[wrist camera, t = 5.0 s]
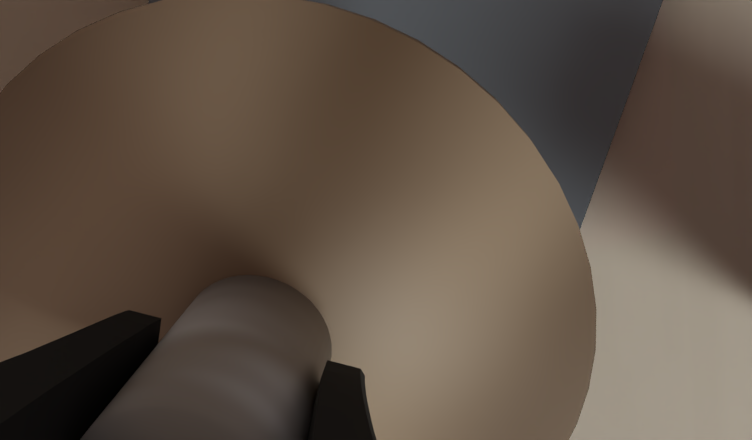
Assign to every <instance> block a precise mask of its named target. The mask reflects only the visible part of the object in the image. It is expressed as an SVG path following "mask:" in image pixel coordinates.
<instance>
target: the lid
mask: <svg viewBox="0 0 752 440" xmlns="http://www.w3.org/2000/svg"><path fill="white" fill-rule="evenodd" d="M127 310H131V311H135V312H139V313H143V314H147V315H151V316H155V317H159V318H161V326H160V333H159V341H158V345H157V346H156V347H155V348H154V349H153V351H152V352H151V353H150V354H149V356H148V357H147V358H146V359H145V360H144V362H143V363H142V364H141V365H140V367H139V368H138V369H137V370H136V371H135V373H134V374H133V375H132V376H131V378H130V379H129V380H128V381H127V382H126V384H125V385H124V386H123V387H122V389H121V390H120V391H119V392H118V393H117V395H116V396H115V397H114V398H113V400H112V401H111V402H110V403H109V404H108V406H107V407H106V408H105V409H104V411H103V412H102V413H101V414H100V415H99V417H98V418H97V419H96V420H95V422H94V423H93V424H92V425H91V426H90V428H89V429H88V430H87V431H86V433H85V434H84V435H83V436H82V438H81V439H80V440H307V435H308V430H309V425H310V421H311V417H312V413H313V408H314V404H315V400H316V396H317V392H318V387H319V383H320V379H321V376H322V373H323V370H324V368H325V365H326V362H327V360H329V361H333V362H337V363H341V364H345V365H349V366H353V367H356V368H360V369H361V370H362V372H363V373H364V375H365V388H366V396H367V402H368V407H369V412H370V416H371V421H372V425H373V429H374V432H375V436H376V439H377V440H569V438H570V436H571V434H572V432H573V430H574V428H575V427H576V425H577V422H578V419H579V416H580V413H581V410H582V407H583V404H584V401H585V398H586V395H587V392H588V389H589V384H590V378H591V373H592V367H593V361H594V356H595V348H596V304H595V296H594V289H593V281H592V274H591V267H590V264H589V260H588V257H587V253H586V250H585V247H584V243H583V240H582V236H581V233H580V229H579V226H578V223H577V221H576V219H575V217H574V215H573V213H572V210H571V208H570V206H569V204H568V202H567V200H566V197H565V195H564V193H563V191H562V189H561V187H560V184H559V182H558V181H557V179H556V178H555V176H554V175H553V173H552V172H551V170H550V169H549V167H548V166H547V164H546V162H545V161H544V159H543V158H542V156H541V155H540V153H539V152H538V150H537V149H536V147H535V145H534V144H533V142H532V141H531V140H530V138H529V137H528V135H527V134H526V133H525V132H524V130H523V129H522V128H521V127H520V126H519V125H518V124H517V122H516V121H515V120H514V119H513V118H512V117H511V116H510V114H509V113H508V112H507V111H506V110H505V109H504V107H503V106H502V105H501V104H500V103H499V102H498V101H497V99H496V98H495V97H493V96H492V95H491V94H490V93H489V92H488V91H487V90H485V89H484V88H483V87H482V86H481V85H480V84H479V83H477V82H476V81H475V80H474V79H473V78H472V77H470V76H469V75H468V74H467V73H466V72H465V71H464V70H462V69H461V68H460V67H459V66H457V65H456V64H454V63H453V62H451V61H450V60H448V59H447V58H445V57H444V56H442V55H441V54H439V53H438V52H436V51H434V50H433V49H431V48H430V47H428V46H427V45H425V44H424V43H422V42H421V41H419V40H417V39H415V38H413V37H411V36H409V35H407V34H405V33H403V32H401V31H398V30H396V29H394V28H392V27H390V26H388V25H386V24H384V23H382V22H380V21H377V20H375V19H373V18H370V17H366V16H363V15H360V14H357V13H354V12H351V11H348V10H344V9H341V8H338V7H335V6H332V5H329V4H324V3H318V2H312V1H307V0H161V1H158V2H154V3H150V4H147V5H143V6H139V7H136V8H132V9H128V10H124V11H121V12H118V13H116V14H113V15H111V16H109V17H107V18H104V19H102V20H100V21H98V22H95V23H93V24H91V25H89V26H86V27H84V28H82V29H80V30H77V31H76V32H74V33H73V34H71V35H70V36H68V37H66V38H65V39H63V40H62V41H60V42H59V43H57V44H56V45H54V46H53V47H51V48H50V49H48V50H46V51H45V52H43V53H42V54H40V55H39V56H38V57H37V58H36V59H35V60H33V61H32V62H31V63H30V64H29V65H28V66H27V67H26V68H25V69H24V70H22V71H21V72H20V73H19V74H18V75H17V76H16V77H15V78H14V79H13V80H11V81H10V82H9V83H8V84H7V85H6V87H5V88H4V89H3V90H2V92H1V93H0V362H2V361H4V360H7V359H10V358H13V357H15V356H18V355H21V354H23V353H26V352H28V351H31V350H33V349H35V348H38V347H40V346H42V345H45V344H47V343H50V342H52V341H54V340H57V339H59V338H62V337H64V336H66V335H69V334H71V333H73V332H76V331H78V330H80V329H83V328H85V327H87V326H90V325H92V324H94V323H97V322H99V321H101V320H104V319H106V318H108V317H111V316H113V315H116V314H118V313H121V312H124V311H127Z"/></svg>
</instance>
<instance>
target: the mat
mask: <svg viewBox="0 0 752 440" xmlns="http://www.w3.org/2000/svg"><path fill="white" fill-rule="evenodd" d="M158 1H161V0H149V3H148V4H150V3H154V2H158ZM307 1H312V2H318V3H324V4H329V5H332V6H335V7H338V8H341V9H344V10H348V11H351V12H354V13H357V14H360V15H363V16H366V17H370V18H373V19H375V20H377V21H380V22H382V23H384V24H386V25H388V26H390V27H392V28H394V29H396V30H398V31H401V32H403V33H405V34H407V35H409V36H411V37H413V38H415V39H417V40H419V41H421V42H422V43H424V44H425V45H427V46H428V47H430V48H431V49H433V50H434V51H436V52H438V53H439V54H441V55H442V56H444V57H445V58H447V59H448V60H450V61H451V62H453V63H454V64H456V65H457V66H459V67H460V68H461V69H462V70H464V71H465V72H466V73H467V74H468V75H469V76H470V77H472V78H473V79H474V80H475V81H476V82H477V83H479V84H480V85H481V86H482V87H483V88H484V89H485V90H487V91H488V92H489V93H490V94H491V95H492V96H493V97H495V98H496V99H497V101H498V102H499V103H500V104H501V105H502V106H503V107H504V109H505V110H506V111H507V112H508V113H509V114H510V116H511V117H512V118H513V119H514V120H515V121H516V122H517V124H518V125H519V126H520V127H521V128H522V129H523V130H524V132H525V133H526V134H527V135H528V137H529V138H530V140H531V141H532V142H533V144H534V145H535V147H536V149H537V150H538V152H539V153H540V155H541V156H542V158H543V159H544V161H545V162H546V164H547V166H548V167H549V169H550V170H551V172H552V173H553V175H554V176H555V178H556V179H557V181H558V182H559V184H560V187H561V189H562V191H563V193H564V195H565V197H566V200H567V202H568V204H569V206H570V208H571V210H572V213H573V215H574V217H575V219H576V221H577V223H578V226H579V229H580V228H581V225H582V222H583V219H584V216H585V214H586V211H587V208H588V205H589V203H590V200H591V197H592V194H593V192H594V189H595V186H596V183H597V181H598V178H599V175H600V172H601V170H602V167H603V164H604V161H605V159H606V156H607V153H608V150H609V148H610V145H611V142H612V139H613V137H614V134H615V131H616V128H617V125H618V123H619V120H620V117H621V114H622V112H623V109H624V106H625V103H626V101H627V98H628V95H629V92H630V90H631V87H632V84H633V81H634V79H635V76H636V73H637V70H638V68H639V65H640V62H641V59H642V57H643V54H644V51H645V48H646V45H647V43H648V40H649V37H650V34H651V32H652V29H653V26H654V23H655V21H656V18H657V15H658V12H659V10H660V7H661V4H662V1H663V0H307Z"/></svg>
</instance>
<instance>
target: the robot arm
mask: <svg viewBox="0 0 752 440" xmlns="http://www.w3.org/2000/svg"><path fill="white" fill-rule="evenodd" d="M160 326H161V318H159V317H155V316H151V315H147V314H143V313H139V312H135V311H131V310H127V311H124V312H121V313H118V314H116V315H113V316H111V317H108V318H106V319H104V320H101V321H99V322H97V323H94V324H92V325H90V326H87V327H85V328H83V329H80V330H78V331H76V332H73V333H71V334H69V335H66V336H64V337H62V338H59V339H57V340H54V341H52V342H50V343H47V344H45V345H42V346H40V347H38V348H35V349H33V350H31V351H28V352H26V353H23V354H21V355H18V356H15V357H13V358H10V359H7V360H4V361H2V362H0V440H80V439H81V438H82V436H83V435H84V434H85V433H86V431H87V430H88V429H89V428H90V426H91V425H92V424H93V423H94V422H95V420H96V419H97V418H98V417H99V415H100V414H101V413H102V412H103V411H104V409H105V408H106V407H107V406H108V404H109V403H110V402H111V401H112V400H113V398H114V397H115V396H116V395H117V393H118V392H119V391H120V390H121V389H122V387H123V386H124V385H125V384H126V382H127V381H128V380H129V379H130V378H131V376H132V375H133V374H134V373H135V371H136V370H137V369H138V368H139V367H140V365H141V364H142V363H143V362H144V360H145V359H146V358H147V357H148V356H149V354H150V353H151V352H152V351H153V349H154V348H155V347H156V346H157V345H158V341H159V333H160ZM307 440H377V439H376V436H375V432H374V429H373V425H372V421H371V416H370V412H369V407H368V402H367V396H366V388H365V375H364V373H363V372H362V370H361V369H360V368H356V367H353V366H349V365H345V364H341V363H337V362H333V361H329V360H327V362H326V365H325V368H324V370H323V373H322V376H321V379H320V383H319V387H318V392H317V396H316V400H315V404H314V408H313V413H312V417H311V421H310V425H309V430H308V435H307Z"/></svg>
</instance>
